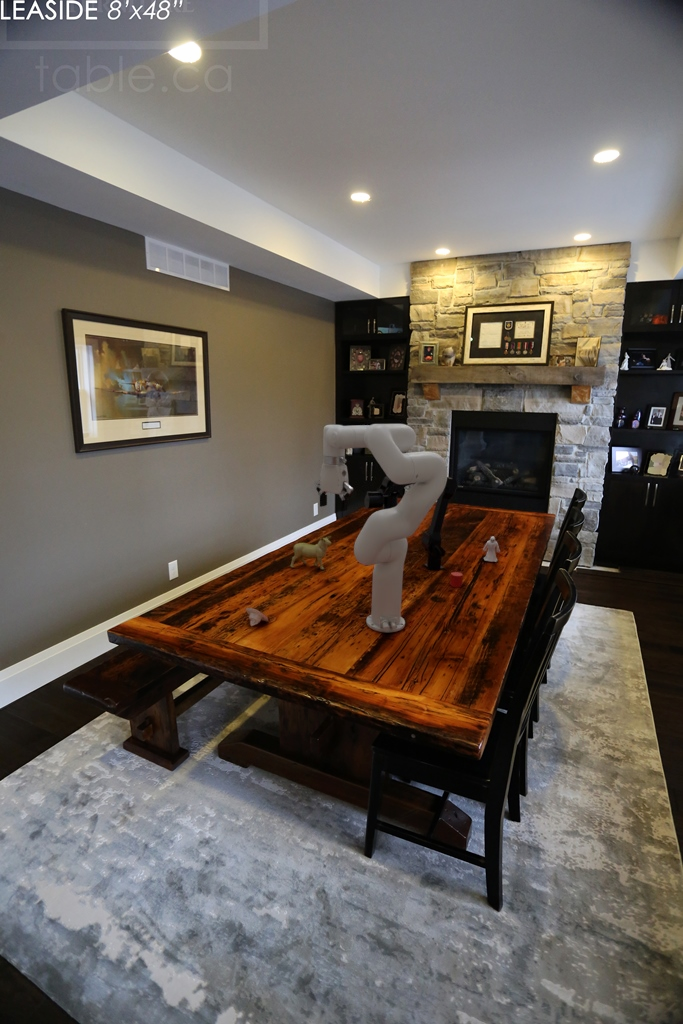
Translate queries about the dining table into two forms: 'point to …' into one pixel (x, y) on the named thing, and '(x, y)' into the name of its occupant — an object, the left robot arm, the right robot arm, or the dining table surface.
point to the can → (456, 579)
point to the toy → (311, 551)
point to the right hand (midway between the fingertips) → (388, 544)
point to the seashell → (255, 616)
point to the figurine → (491, 550)
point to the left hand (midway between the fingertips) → (333, 508)
